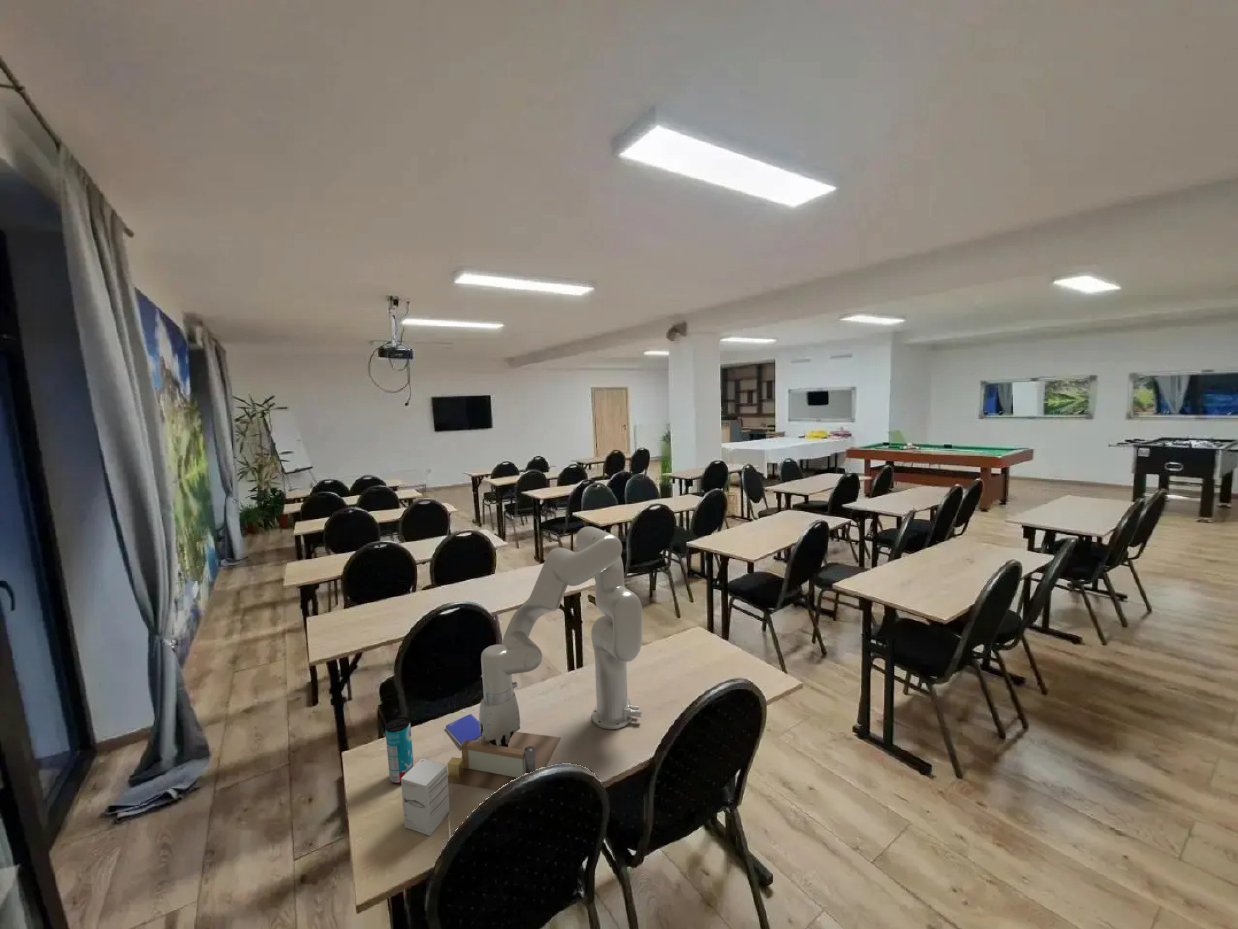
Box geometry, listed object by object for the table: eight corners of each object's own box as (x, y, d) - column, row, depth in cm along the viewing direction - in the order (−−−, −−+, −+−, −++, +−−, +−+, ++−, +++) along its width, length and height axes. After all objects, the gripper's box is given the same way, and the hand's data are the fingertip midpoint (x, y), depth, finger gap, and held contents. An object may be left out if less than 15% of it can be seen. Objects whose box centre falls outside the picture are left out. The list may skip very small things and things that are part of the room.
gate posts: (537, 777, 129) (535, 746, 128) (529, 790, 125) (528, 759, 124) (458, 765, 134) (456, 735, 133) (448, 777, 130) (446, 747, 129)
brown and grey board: (527, 774, 129) (526, 750, 129) (524, 779, 128) (522, 755, 127) (466, 763, 134) (464, 740, 133) (462, 768, 132) (461, 744, 132)
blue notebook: (445, 725, 150) (462, 744, 140) (471, 713, 155) (489, 730, 145) (445, 730, 150) (463, 749, 140) (471, 718, 155) (489, 735, 146)
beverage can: (413, 782, 129) (408, 728, 128) (388, 788, 128) (383, 733, 126) (415, 766, 135) (411, 714, 133) (391, 772, 133) (387, 719, 132)
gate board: (561, 739, 144) (561, 737, 144) (530, 798, 123) (530, 795, 123) (485, 729, 150) (484, 727, 150) (443, 783, 129) (443, 781, 128)
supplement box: (403, 828, 115) (399, 778, 114) (426, 804, 122) (422, 756, 120) (429, 837, 112) (425, 786, 111) (451, 812, 119) (447, 763, 118)
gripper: (518, 677, 140) (521, 738, 143) (465, 697, 131) (470, 761, 134) (530, 689, 134) (534, 752, 137) (476, 710, 125) (481, 778, 128)
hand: (502, 756), depth 135 cm, fingers closed
